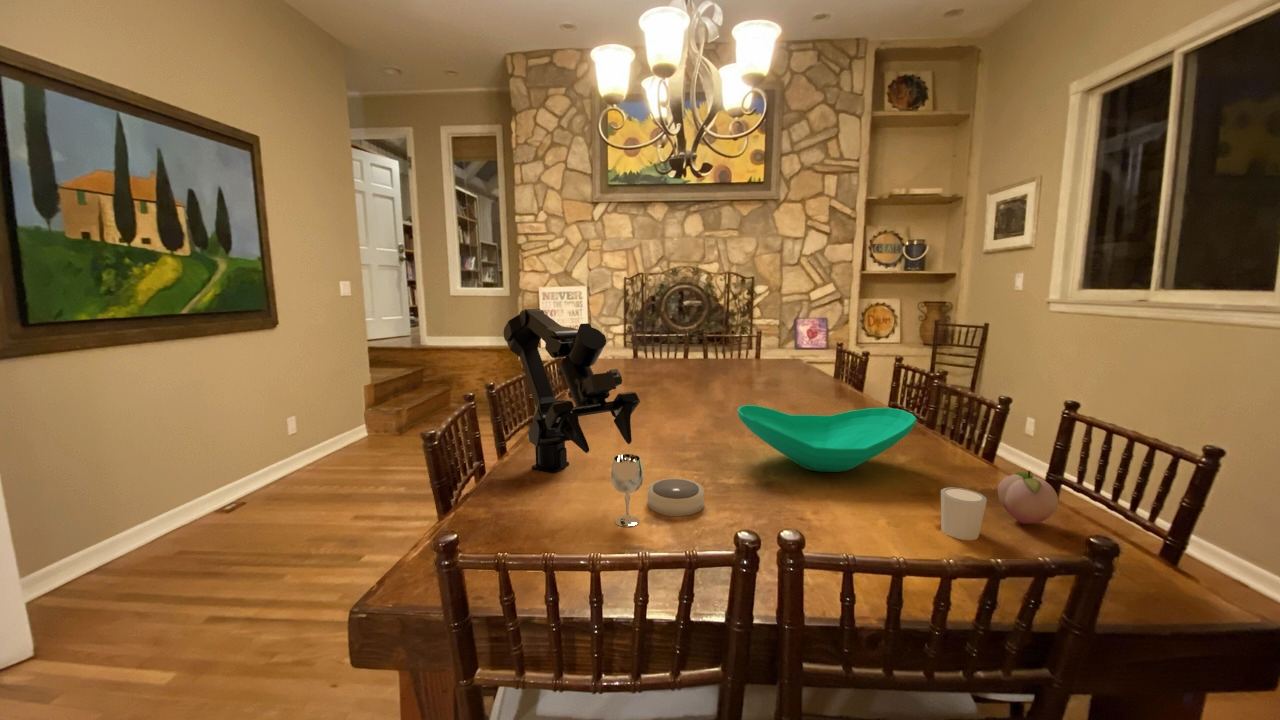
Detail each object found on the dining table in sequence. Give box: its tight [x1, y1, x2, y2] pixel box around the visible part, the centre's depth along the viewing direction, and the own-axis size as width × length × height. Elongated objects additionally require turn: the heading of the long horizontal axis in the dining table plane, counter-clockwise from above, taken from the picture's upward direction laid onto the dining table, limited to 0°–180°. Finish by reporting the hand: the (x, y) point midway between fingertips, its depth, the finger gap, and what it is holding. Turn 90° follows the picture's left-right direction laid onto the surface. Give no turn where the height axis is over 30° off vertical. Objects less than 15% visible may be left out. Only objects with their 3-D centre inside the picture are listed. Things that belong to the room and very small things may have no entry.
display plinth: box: [647, 478, 705, 517], centre depth 103 cm, size 11×11×3 cm
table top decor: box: [736, 404, 918, 473], centre depth 123 cm, size 40×28×13 cm
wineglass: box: [610, 453, 644, 528], centre depth 95 cm, size 6×6×12 cm
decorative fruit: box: [997, 470, 1059, 525], centre depth 95 cm, size 9×8×10 cm
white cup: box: [940, 486, 987, 541], centre depth 92 cm, size 7×7×7 cm
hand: (609, 447), depth 99 cm, fingers open, 9 cm apart
